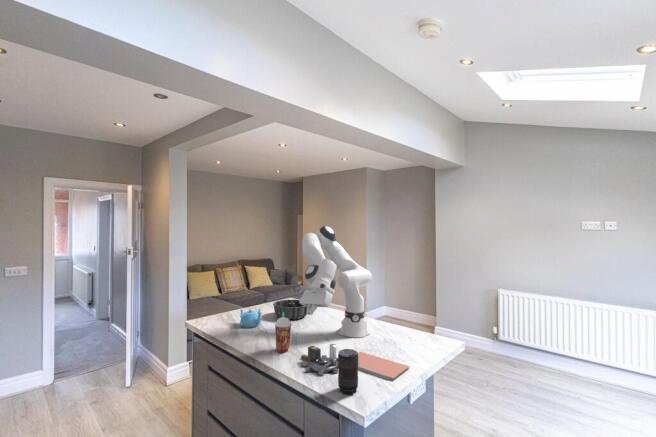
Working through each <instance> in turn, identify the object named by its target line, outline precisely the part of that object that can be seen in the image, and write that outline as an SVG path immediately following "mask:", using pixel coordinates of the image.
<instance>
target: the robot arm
mask: <svg viewBox="0 0 656 437" xmlns="http://www.w3.org/2000/svg"><path fill="white" fill-rule="evenodd" d="M336 240H337V238H336V234H335V231H334V229H333V228H331V227H330V226H328V225H322V226H321V227H320V228H319V230H318V231H317V232H316V233H314V232H308V233H306V234H305V235H304V236H303V239H302V247H301V248H302V252H303V255H304V257H305V258H306V259H307V261H309V262H310V263H311V265H308V266H307V268H306V269H305V272H304V278H305V280H306V281H307V282H309V283H310V284H311V286H310V288H309V287H308V289H306V290H304V292H303V293H302V296H301V297H300V299H299V300H300V304H301V305H303V306H307V312H306V313H307V315H309V316H313V314H314V312H315V311H316V310H317V309H318V308H329V306H330V305H331V303H332V301H333V295H334V294H335V292H336V291H335V288H336V285H338V286H339V288H341V289H342V291H343V293H344V297H345V310H344V318H343V320H341V328H340V330H339V331H338V334H339V335H342V336H345V337H348V338H355V339H356V338H363V337H366V336H369V335H371V333H370V331H369V330H368V321H367V319H366V317H365V315H366V314H365V298H364V296H363V295H361V293H360V290H359V289H360V288H362V287H363V288H364V287H366V286H368V285H370V284H371V282H372V280H373V275H372V273H371V271H370V270H369V269H366V268H364V267H363V266H361V265H360V264H358V263H357V262H356V261H355V260H354V259H352V257H351V256H350V255H349V254H348V252H347V251H346V249H345V248H344V247H343V246H342V245H341V244H340V243H339V242H337V241H336ZM324 251H326V253H327V256H328V258H327V257H326V256H325V254H324ZM337 270H338V271H339V272H340V273H339V274H338V275H337V278H336V277H335V275H336V271H337ZM336 282H337V283H336Z"/></svg>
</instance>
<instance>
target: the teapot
mask: <svg viewBox="0 0 656 437" xmlns="http://www.w3.org/2000/svg"><path fill="white" fill-rule="evenodd" d="M262 309H263V307H260V308H258V310H257V311H255V310H254V309H248V310H247V311H244V310H243V308H242V307H241V308H240V307H239V310H240V321H239V326H241V327H242V328H247V329H250V328H251V329H252V328H257V327H258V326H259V325H261V320H262V317H261V315H262V311H261V310H262Z"/></svg>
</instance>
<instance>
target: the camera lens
mask: <svg viewBox="0 0 656 437" xmlns="http://www.w3.org/2000/svg"><path fill="white" fill-rule="evenodd" d="M358 352H359V351H357V350H355V349H353V348H352V349H351V348H344V349H343V348H342V349H341V350H339V351H338V354H337V358H338V368H337V369H338V372H337V375H338V376H337V382H338V383H337V384H338V388H339V392H340V393H341V394H344V395H350V396H351V395H354V394H356V393H357V391H358V390H357V389H358V386H359V385H358V384H359V369H358Z"/></svg>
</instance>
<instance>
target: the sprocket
mask: <svg viewBox="0 0 656 437" xmlns="http://www.w3.org/2000/svg"><path fill="white" fill-rule="evenodd" d="M302 367H305V372H307V373H311V372H314V373H318V375H319V376H324V375H325V374H327V373H333V374H334V375H335V374H338V370H339V369H338V357H337V344H335V343H331V344H329V357H327V355H326V354H325V355H324V354H321V359H319V360H318V361H314V360H312V359H310V358H309V360H308V361H306V360H303V362H302Z"/></svg>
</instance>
